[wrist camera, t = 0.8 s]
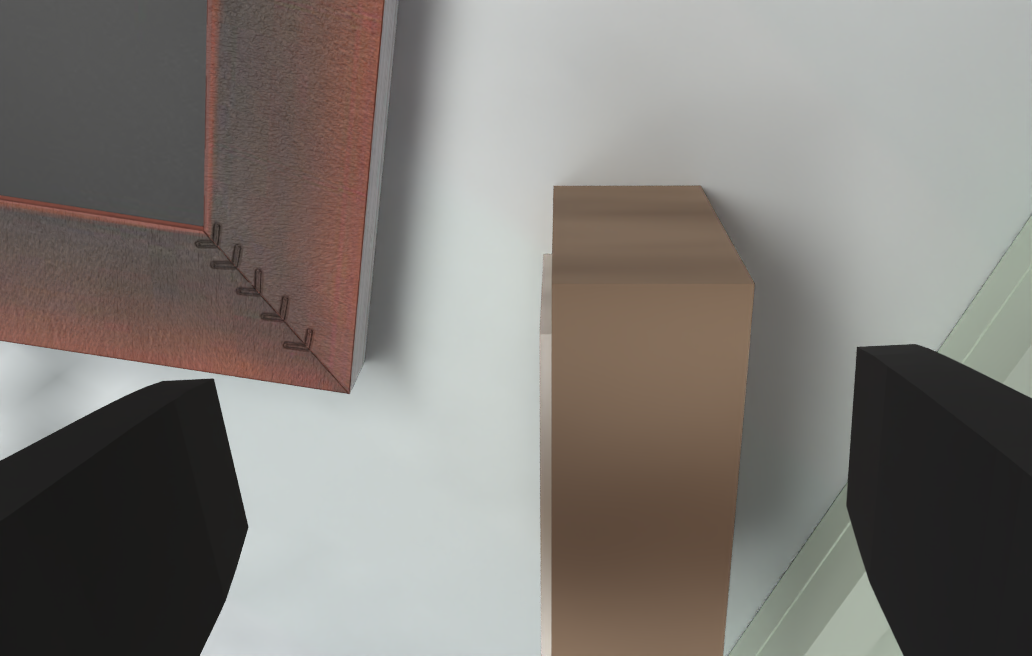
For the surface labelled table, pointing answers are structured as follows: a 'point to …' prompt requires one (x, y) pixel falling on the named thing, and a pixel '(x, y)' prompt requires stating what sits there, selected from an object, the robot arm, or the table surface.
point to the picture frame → (194, 181)
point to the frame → (639, 421)
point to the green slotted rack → (832, 546)
